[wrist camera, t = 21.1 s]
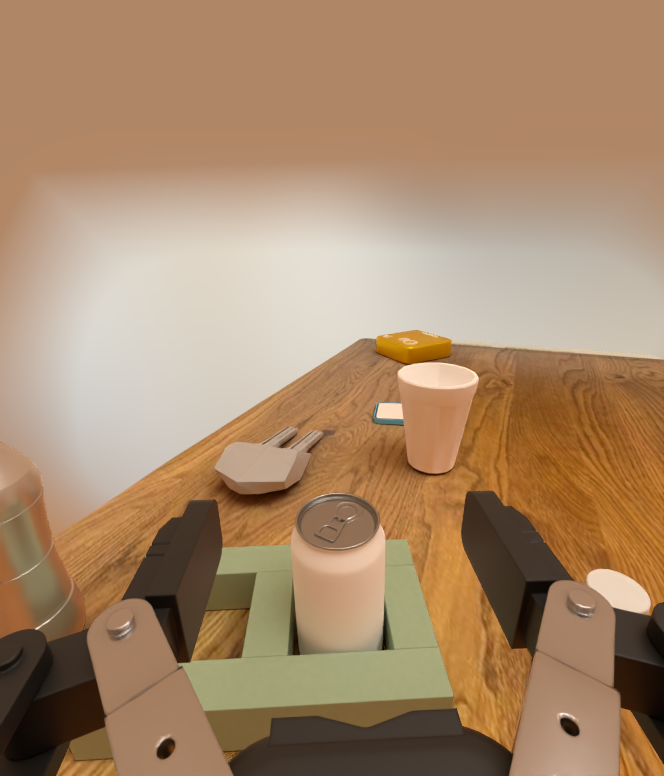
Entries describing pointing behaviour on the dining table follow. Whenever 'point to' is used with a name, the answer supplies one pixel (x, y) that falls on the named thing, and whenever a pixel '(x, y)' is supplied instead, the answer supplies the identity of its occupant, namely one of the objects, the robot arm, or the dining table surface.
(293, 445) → the turret
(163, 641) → the robot arm
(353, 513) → the can
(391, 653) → the holder
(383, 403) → the smartphone
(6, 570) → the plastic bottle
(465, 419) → the cup
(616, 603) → the pill bottle
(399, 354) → the element tile
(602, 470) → the dining table surface
